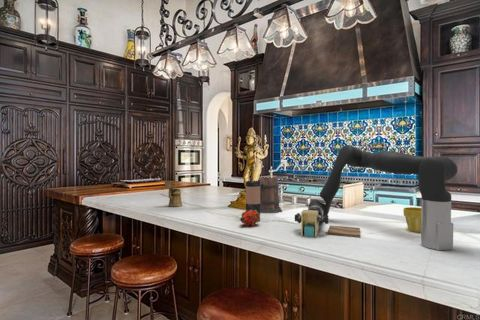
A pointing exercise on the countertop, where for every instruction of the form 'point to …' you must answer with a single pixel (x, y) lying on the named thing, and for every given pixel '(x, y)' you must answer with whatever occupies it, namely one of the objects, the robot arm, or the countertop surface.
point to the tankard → (269, 195)
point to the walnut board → (344, 231)
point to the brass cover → (309, 220)
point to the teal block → (309, 230)
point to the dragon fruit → (250, 217)
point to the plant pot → (413, 218)
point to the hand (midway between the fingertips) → (309, 221)
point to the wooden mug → (173, 195)
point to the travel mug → (253, 196)
